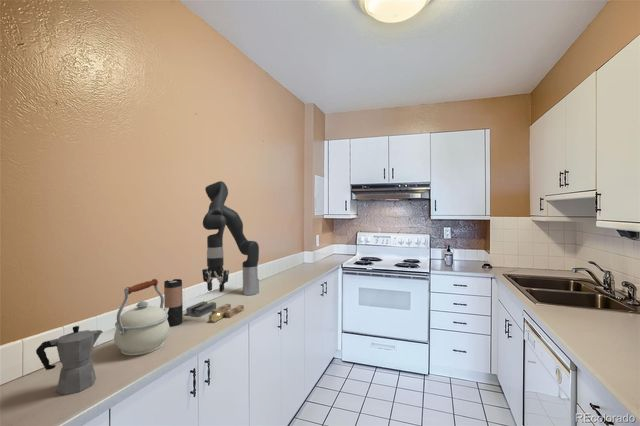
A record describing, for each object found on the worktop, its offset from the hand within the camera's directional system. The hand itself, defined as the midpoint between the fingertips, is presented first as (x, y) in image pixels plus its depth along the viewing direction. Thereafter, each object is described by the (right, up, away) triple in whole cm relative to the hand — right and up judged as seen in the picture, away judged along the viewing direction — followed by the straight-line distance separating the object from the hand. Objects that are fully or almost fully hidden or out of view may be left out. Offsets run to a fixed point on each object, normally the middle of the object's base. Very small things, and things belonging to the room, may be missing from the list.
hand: (215, 290), depth 146 cm
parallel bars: (+3, -13, +9) cm, 16 cm away
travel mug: (-18, -14, -5) cm, 23 cm away
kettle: (-18, -14, -28) cm, 36 cm away
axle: (0, -13, +1) cm, 14 cm away
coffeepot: (-23, -15, -56) cm, 62 cm away
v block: (-11, -14, +11) cm, 21 cm away
